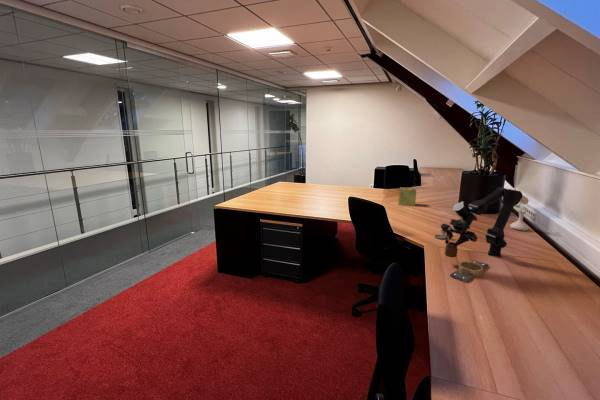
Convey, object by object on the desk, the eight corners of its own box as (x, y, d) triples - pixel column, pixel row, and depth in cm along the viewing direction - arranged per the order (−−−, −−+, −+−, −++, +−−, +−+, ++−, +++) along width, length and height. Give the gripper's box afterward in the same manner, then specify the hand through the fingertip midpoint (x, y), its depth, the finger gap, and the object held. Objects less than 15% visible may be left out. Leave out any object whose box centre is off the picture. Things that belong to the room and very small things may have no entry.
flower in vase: (532, 231, 212) (539, 197, 206) (516, 231, 212) (522, 197, 207) (519, 225, 225) (525, 193, 219) (504, 225, 225) (509, 193, 219)
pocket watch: (433, 237, 202) (434, 223, 200) (437, 234, 208) (439, 221, 206) (446, 240, 197) (447, 226, 194) (450, 237, 203) (451, 223, 200)
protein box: (415, 206, 285) (416, 190, 281) (398, 204, 290) (399, 189, 286) (415, 203, 294) (416, 188, 291) (398, 202, 300) (399, 187, 296)
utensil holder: (459, 256, 161) (461, 235, 158) (449, 258, 159) (451, 237, 157) (451, 252, 167) (453, 232, 164) (441, 254, 165) (443, 233, 162)
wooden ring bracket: (470, 260, 167) (470, 255, 166) (491, 267, 159) (492, 262, 158) (446, 275, 151) (447, 269, 150) (469, 283, 142) (470, 278, 142)
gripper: (444, 209, 167) (429, 231, 165) (476, 217, 151) (460, 242, 149) (451, 220, 173) (437, 242, 170) (484, 229, 157) (468, 253, 154)
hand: (450, 244), depth 161 cm, fingers closed on utensil holder, 5 cm apart
